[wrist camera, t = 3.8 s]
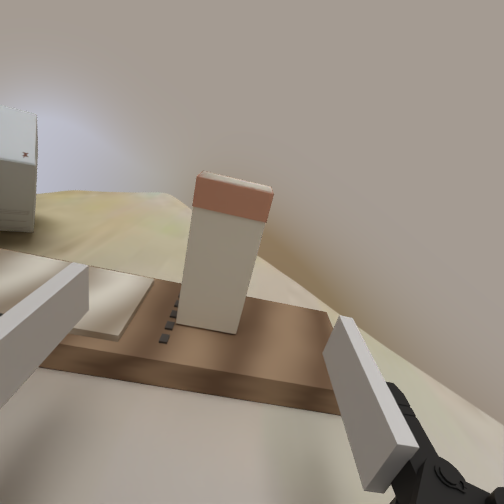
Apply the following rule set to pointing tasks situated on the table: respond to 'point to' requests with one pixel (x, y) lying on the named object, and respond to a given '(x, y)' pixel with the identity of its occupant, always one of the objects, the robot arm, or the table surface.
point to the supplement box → (18, 169)
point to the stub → (221, 250)
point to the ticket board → (182, 339)
